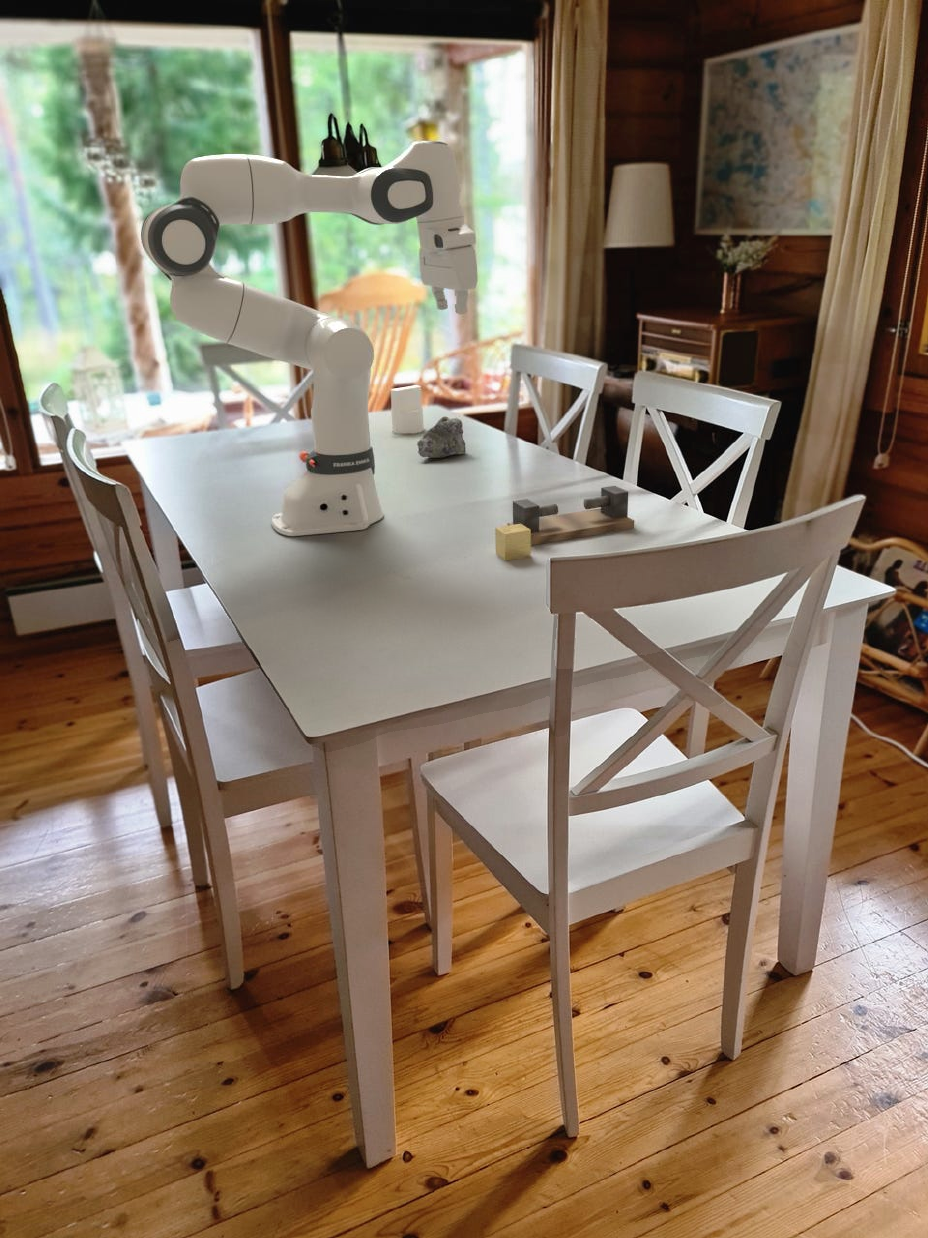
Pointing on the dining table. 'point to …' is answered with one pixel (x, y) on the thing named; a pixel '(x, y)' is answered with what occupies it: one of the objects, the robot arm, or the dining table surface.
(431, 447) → the mineral rock
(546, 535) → the shaft stand
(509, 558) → the yellow cube
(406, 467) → the dining table surface
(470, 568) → the dining table surface
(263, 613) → the dining table surface
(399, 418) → the cylinder with rectangular tab
